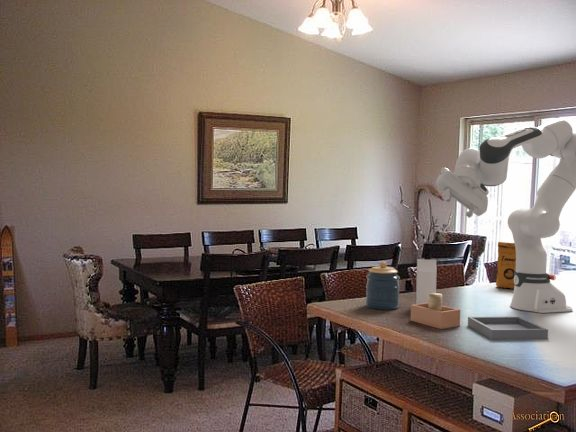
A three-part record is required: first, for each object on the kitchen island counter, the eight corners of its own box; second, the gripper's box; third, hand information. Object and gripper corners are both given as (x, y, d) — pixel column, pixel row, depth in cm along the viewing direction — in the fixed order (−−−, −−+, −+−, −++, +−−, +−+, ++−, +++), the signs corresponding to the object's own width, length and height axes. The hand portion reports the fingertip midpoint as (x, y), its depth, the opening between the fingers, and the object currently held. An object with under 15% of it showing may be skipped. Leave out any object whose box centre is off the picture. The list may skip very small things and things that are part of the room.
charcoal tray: (518, 325, 192) (519, 316, 192) (547, 339, 174) (548, 329, 174) (467, 325, 190) (467, 316, 190) (491, 339, 173) (492, 329, 172)
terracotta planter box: (428, 317, 202) (429, 302, 202) (459, 325, 190) (460, 309, 190) (410, 320, 197) (410, 304, 197) (441, 329, 185) (441, 312, 185)
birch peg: (438, 321, 196) (439, 293, 196) (443, 324, 191) (444, 295, 191) (426, 321, 196) (426, 293, 195) (430, 324, 191) (431, 295, 191)
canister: (406, 308, 218) (407, 262, 218) (380, 311, 211) (381, 264, 211) (383, 302, 229) (384, 259, 229) (358, 305, 222) (359, 260, 222)
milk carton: (435, 311, 214) (436, 261, 213) (416, 310, 215) (417, 260, 214) (434, 307, 221) (435, 259, 220) (415, 306, 222) (417, 258, 221)
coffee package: (522, 291, 261) (524, 243, 261) (494, 288, 267) (495, 242, 267) (524, 288, 270) (526, 242, 269) (497, 285, 276) (498, 240, 275)
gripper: (447, 160, 196) (440, 186, 188) (492, 193, 199) (487, 220, 191) (435, 170, 201) (428, 195, 192) (479, 202, 204) (474, 228, 195)
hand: (458, 208), depth 191 cm, fingers open, 8 cm apart
